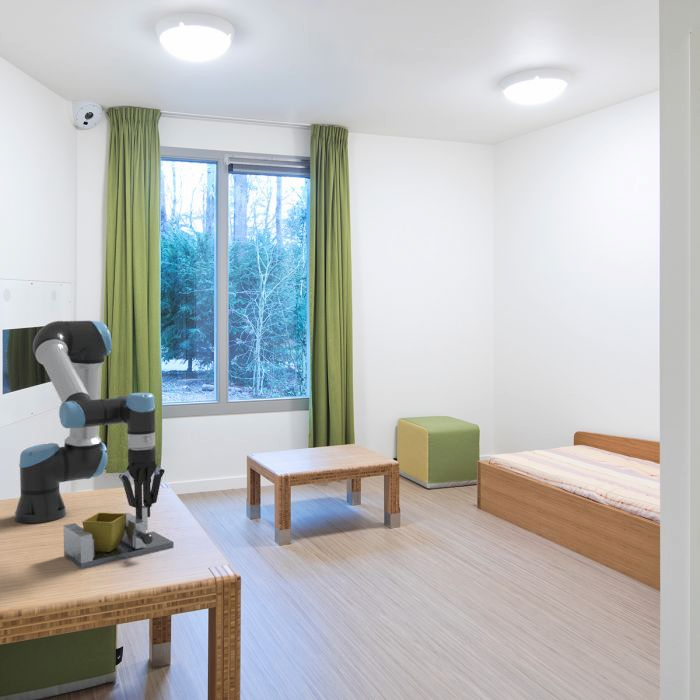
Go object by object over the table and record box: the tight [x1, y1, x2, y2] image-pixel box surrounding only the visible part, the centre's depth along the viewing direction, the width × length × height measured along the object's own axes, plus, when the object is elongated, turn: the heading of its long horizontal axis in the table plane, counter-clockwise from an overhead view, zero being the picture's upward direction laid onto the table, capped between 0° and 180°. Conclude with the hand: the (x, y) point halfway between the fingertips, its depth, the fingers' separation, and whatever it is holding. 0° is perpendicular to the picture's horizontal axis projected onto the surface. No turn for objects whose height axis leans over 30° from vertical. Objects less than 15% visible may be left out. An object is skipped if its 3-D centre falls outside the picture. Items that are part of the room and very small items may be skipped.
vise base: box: [63, 522, 174, 570], centre depth 192 cm, size 13×26×8 cm, turn 131°
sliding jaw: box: [122, 512, 153, 549], centre depth 192 cm, size 18×4×7 cm, turn 41°
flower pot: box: [81, 512, 127, 552], centre depth 190 cm, size 9×9×9 cm
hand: (143, 529), depth 197 cm, fingers closed
